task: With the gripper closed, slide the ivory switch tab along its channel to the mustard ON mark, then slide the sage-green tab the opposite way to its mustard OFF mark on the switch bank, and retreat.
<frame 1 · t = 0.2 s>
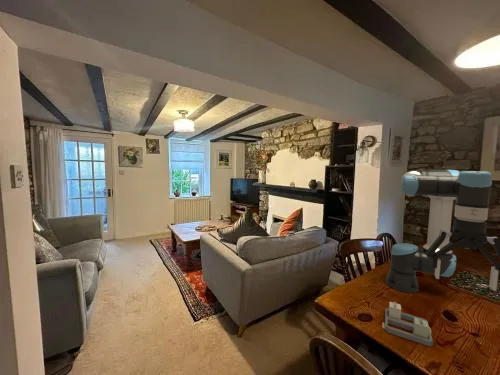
hand: (463, 282, 73), 27 cm above the table, fingers open, 13 cm apart
ivory tab: (394, 311, 94), point 5 cm above the table, slide at -4.0 cm
switch bank: (406, 330, 89), on the table
sage tab: (420, 328, 84), point 5 cm above the table, slide at 4.0 cm
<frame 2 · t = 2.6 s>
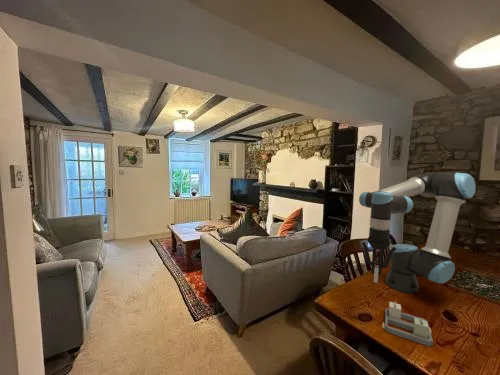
hand: (375, 281, 97), 16 cm above the table, fingers closed
nothing on the table moved.
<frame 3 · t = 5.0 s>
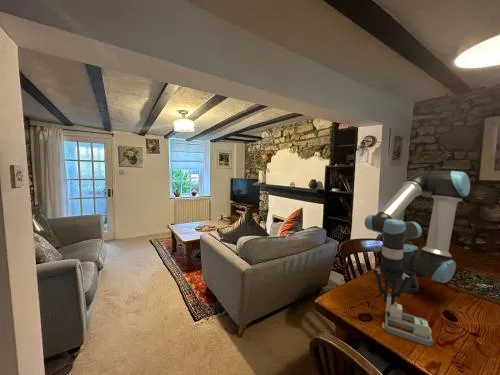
hand: (388, 309, 95), 4 cm above the table, fingers closed
ivory tab: (395, 311, 94), point 5 cm above the table, slide at -3.6 cm, touching gripper
everything else where it was.
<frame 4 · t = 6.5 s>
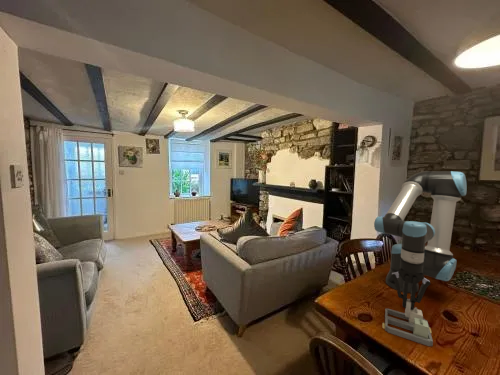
hand: (407, 315, 92), 4 cm above the table, fingers closed
ivory tab: (415, 317, 90), point 5 cm above the table, slide at 3.1 cm, touching gripper
everything else where it was.
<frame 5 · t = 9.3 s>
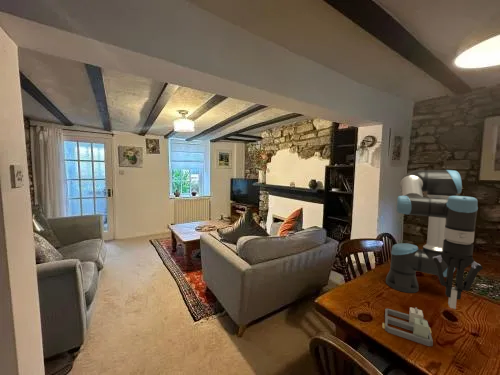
hand: (451, 306, 78), 17 cm above the table, fingers closed
ivory tab: (415, 317, 90), point 5 cm above the table, slide at 3.2 cm
everything else where it was.
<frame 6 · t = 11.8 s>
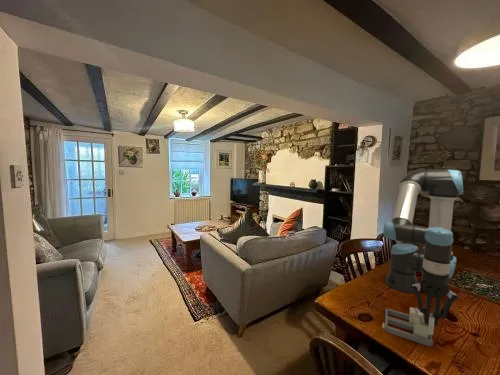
hand: (429, 332, 82), 4 cm above the table, fingers closed
sage tab: (420, 328, 84), point 5 cm above the table, slide at 4.0 cm, touching gripper
everything else where it was.
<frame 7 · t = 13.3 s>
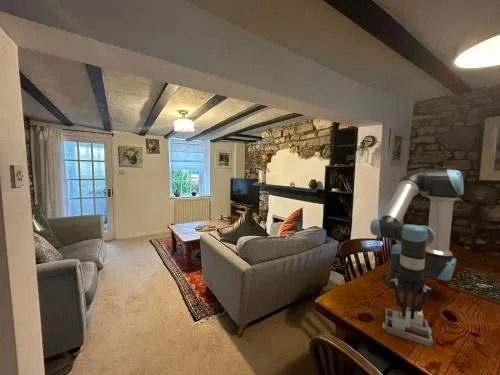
hand: (406, 325, 86), 4 cm above the table, fingers closed
sage tab: (398, 321, 87), point 5 cm above the table, slide at -3.0 cm, touching gripper
everything else where it was.
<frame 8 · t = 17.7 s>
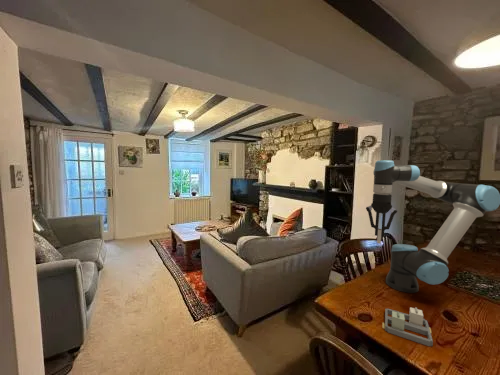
hand: (378, 242, 106), 29 cm above the table, fingers closed
sage tab: (397, 321, 87), point 5 cm above the table, slide at -3.2 cm
everything else where it was.
at the end: ivory tab slide at 3.2 cm; sage tab slide at -3.2 cm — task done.
